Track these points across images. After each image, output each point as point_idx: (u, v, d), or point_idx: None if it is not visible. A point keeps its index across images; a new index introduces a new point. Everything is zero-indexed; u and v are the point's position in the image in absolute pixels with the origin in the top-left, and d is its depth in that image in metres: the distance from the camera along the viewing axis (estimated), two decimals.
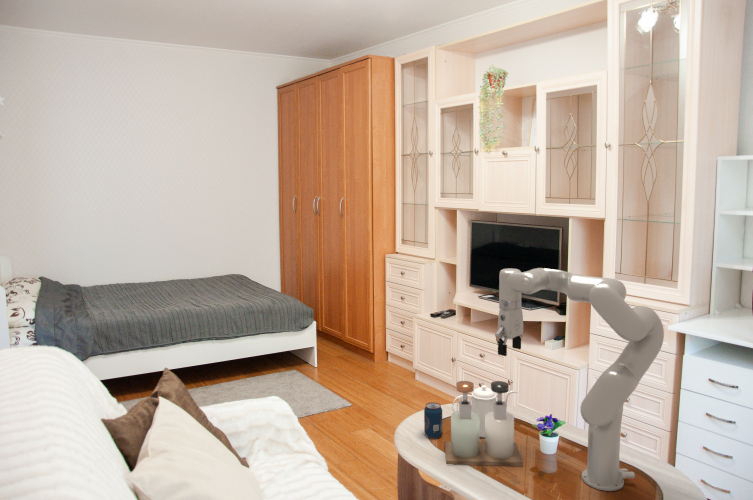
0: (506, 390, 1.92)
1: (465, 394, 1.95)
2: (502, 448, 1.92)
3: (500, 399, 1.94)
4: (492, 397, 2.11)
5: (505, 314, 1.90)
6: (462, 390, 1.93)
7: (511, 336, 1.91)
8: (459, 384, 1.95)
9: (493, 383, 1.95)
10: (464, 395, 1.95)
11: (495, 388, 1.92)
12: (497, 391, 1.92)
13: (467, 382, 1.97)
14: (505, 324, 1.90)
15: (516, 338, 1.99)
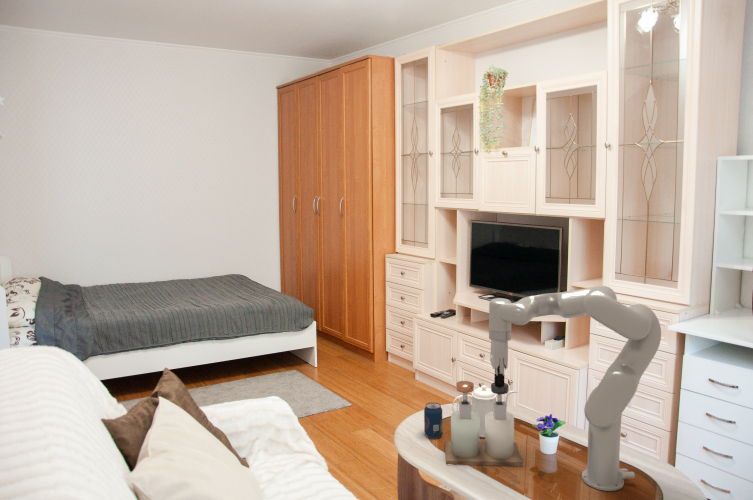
0: (506, 391, 1.92)
1: (465, 394, 1.95)
2: (502, 448, 1.92)
3: (500, 400, 1.94)
4: (492, 397, 2.11)
5: None
6: (462, 390, 1.93)
7: (490, 359, 1.97)
8: (459, 384, 1.95)
9: (493, 384, 1.95)
10: (464, 395, 1.95)
11: (495, 389, 1.92)
12: (497, 392, 1.92)
13: (467, 382, 1.97)
14: None
15: None
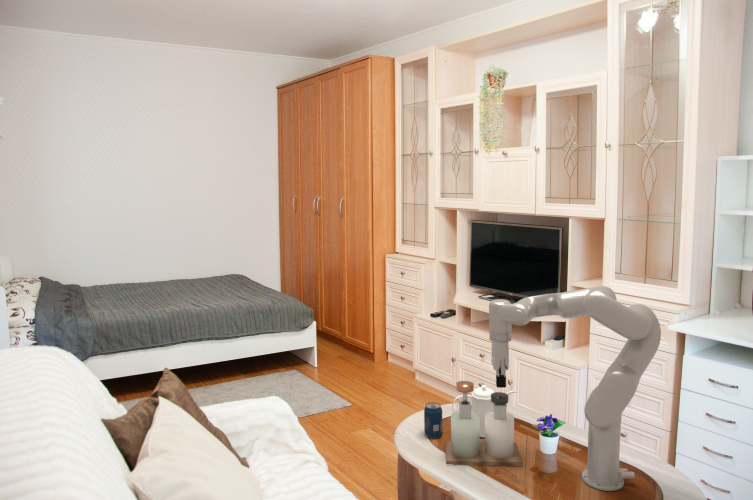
0: (506, 401, 1.93)
1: (465, 394, 1.95)
2: (502, 448, 1.92)
3: None
4: None
5: None
6: (462, 390, 1.93)
7: (491, 360, 1.97)
8: (459, 384, 1.95)
9: (493, 394, 1.96)
10: (464, 395, 1.95)
11: (495, 400, 1.93)
12: (497, 402, 1.93)
13: (467, 382, 1.97)
14: None
15: None
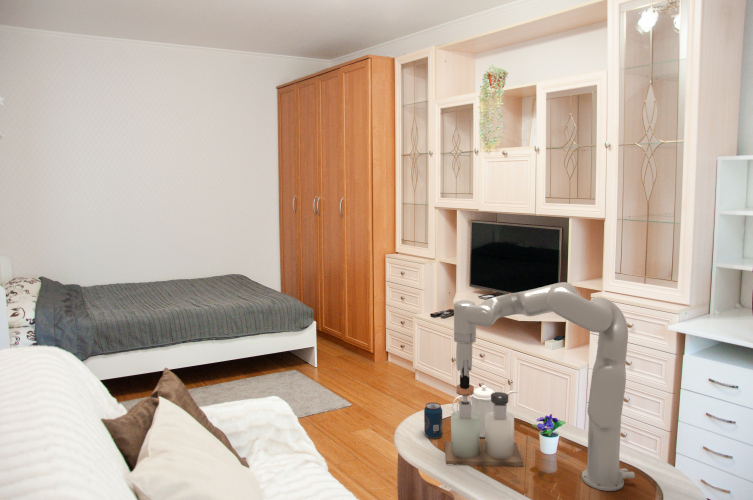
0: (506, 401, 1.93)
1: (465, 397, 1.95)
2: (502, 448, 1.92)
3: None
4: None
5: None
6: (462, 393, 1.93)
7: None
8: (459, 387, 1.96)
9: (493, 394, 1.96)
10: (464, 398, 1.96)
11: (495, 400, 1.93)
12: (497, 402, 1.93)
13: None
14: None
15: None
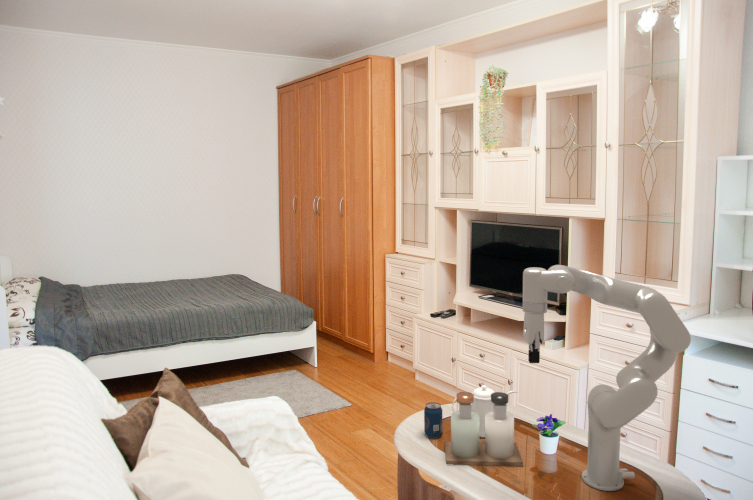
0: (506, 401, 1.93)
1: None
2: (502, 448, 1.92)
3: None
4: None
5: None
6: (462, 401, 1.94)
7: (523, 334, 1.82)
8: (459, 395, 1.96)
9: (493, 394, 1.96)
10: None
11: (495, 400, 1.93)
12: (497, 402, 1.93)
13: (467, 393, 1.97)
14: None
15: None
